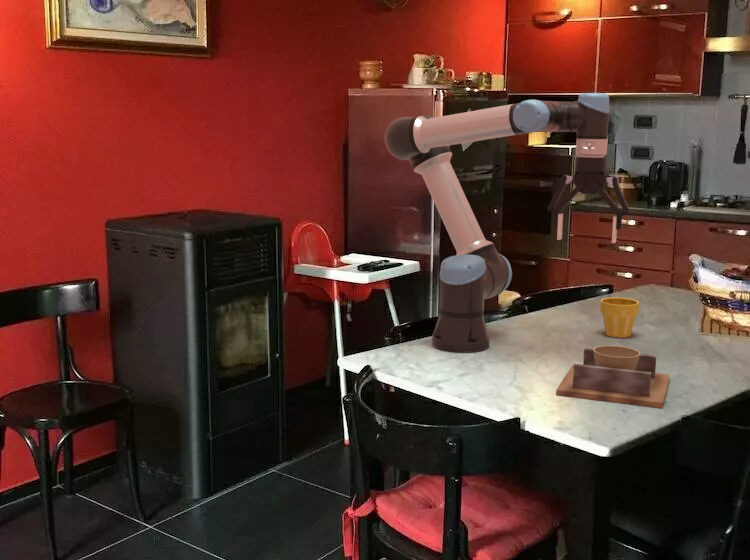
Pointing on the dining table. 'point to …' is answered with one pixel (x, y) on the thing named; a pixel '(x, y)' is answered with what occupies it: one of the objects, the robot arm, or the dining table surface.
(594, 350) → the flower pot
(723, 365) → the dining table surface
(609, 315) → the plant pot
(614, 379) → the cup cradle
